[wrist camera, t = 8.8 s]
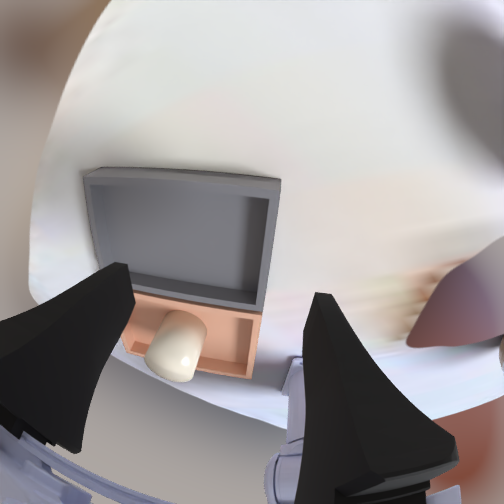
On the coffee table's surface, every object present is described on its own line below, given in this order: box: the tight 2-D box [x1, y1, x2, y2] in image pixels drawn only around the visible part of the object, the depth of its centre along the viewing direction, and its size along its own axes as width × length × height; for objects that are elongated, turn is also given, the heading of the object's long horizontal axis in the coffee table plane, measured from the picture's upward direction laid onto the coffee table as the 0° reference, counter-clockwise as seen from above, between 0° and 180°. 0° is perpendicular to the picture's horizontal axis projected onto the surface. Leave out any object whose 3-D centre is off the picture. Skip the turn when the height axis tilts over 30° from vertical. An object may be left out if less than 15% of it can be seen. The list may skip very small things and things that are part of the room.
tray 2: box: [121, 289, 262, 379], centre depth 25 cm, size 14×10×2 cm
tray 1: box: [83, 167, 281, 312], centre depth 20 cm, size 14×10×2 cm
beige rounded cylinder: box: [144, 310, 207, 382], centre depth 23 cm, size 4×4×5 cm
